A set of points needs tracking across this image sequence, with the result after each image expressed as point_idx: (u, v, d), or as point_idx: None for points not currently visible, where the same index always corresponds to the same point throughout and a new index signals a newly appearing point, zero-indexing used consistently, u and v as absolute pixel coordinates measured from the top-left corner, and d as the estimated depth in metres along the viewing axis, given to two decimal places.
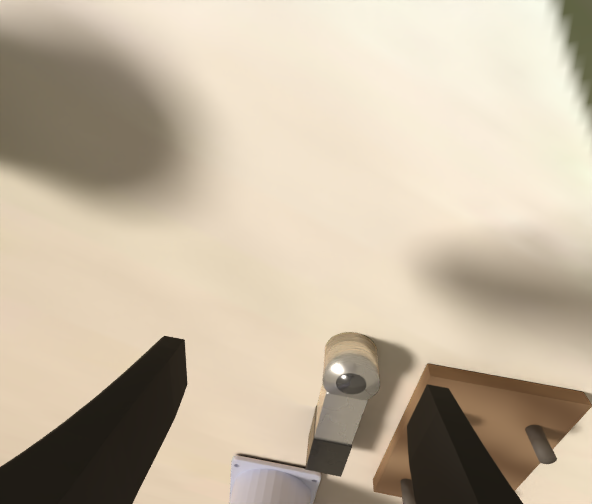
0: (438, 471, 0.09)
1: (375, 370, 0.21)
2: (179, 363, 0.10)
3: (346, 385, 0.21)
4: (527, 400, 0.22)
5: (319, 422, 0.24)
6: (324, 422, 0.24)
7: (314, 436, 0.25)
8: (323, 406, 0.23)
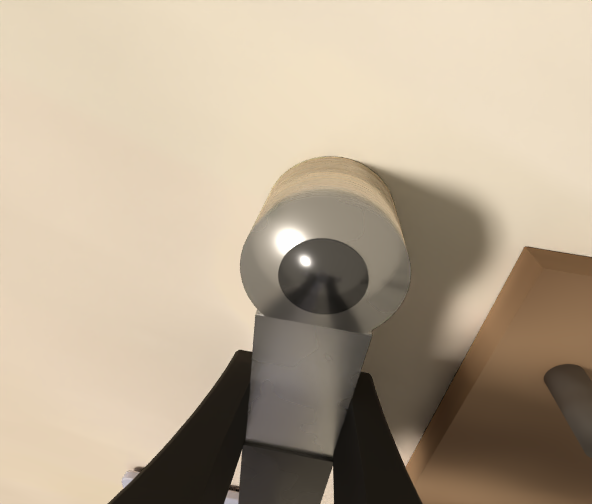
0: (346, 453, 0.09)
1: (397, 229, 0.07)
2: None
3: (309, 284, 0.07)
4: None
5: (251, 401, 0.10)
6: (264, 403, 0.09)
7: (246, 437, 0.10)
8: (254, 357, 0.09)
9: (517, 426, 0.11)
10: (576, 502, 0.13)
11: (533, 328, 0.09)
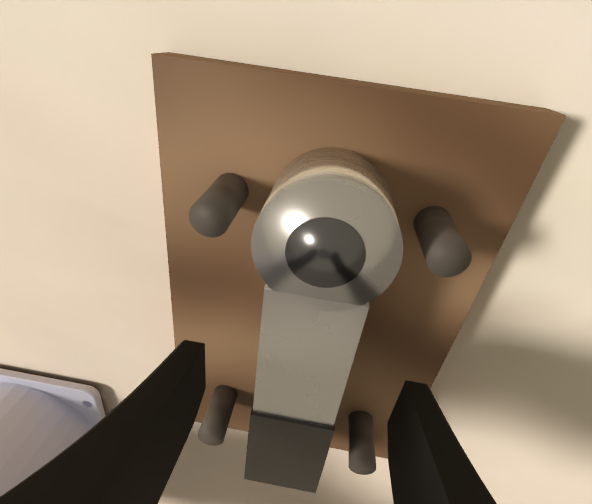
0: (413, 466, 0.09)
1: (391, 209, 0.08)
2: (200, 367, 0.10)
3: (313, 259, 0.08)
4: (402, 119, 0.09)
5: (258, 373, 0.10)
6: (270, 373, 0.10)
7: (253, 408, 0.11)
8: (262, 329, 0.09)
9: (223, 257, 0.12)
10: None
11: (179, 129, 0.10)
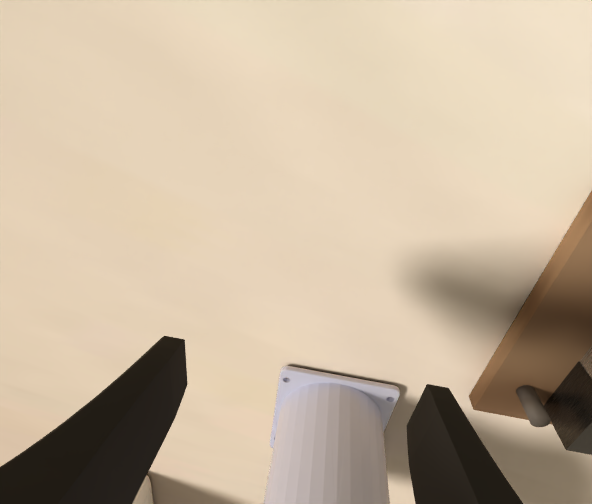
0: (438, 471, 0.09)
1: None
2: (180, 363, 0.10)
3: None
4: None
5: None
6: None
7: None
8: None
9: (585, 300, 0.18)
10: None
11: None
